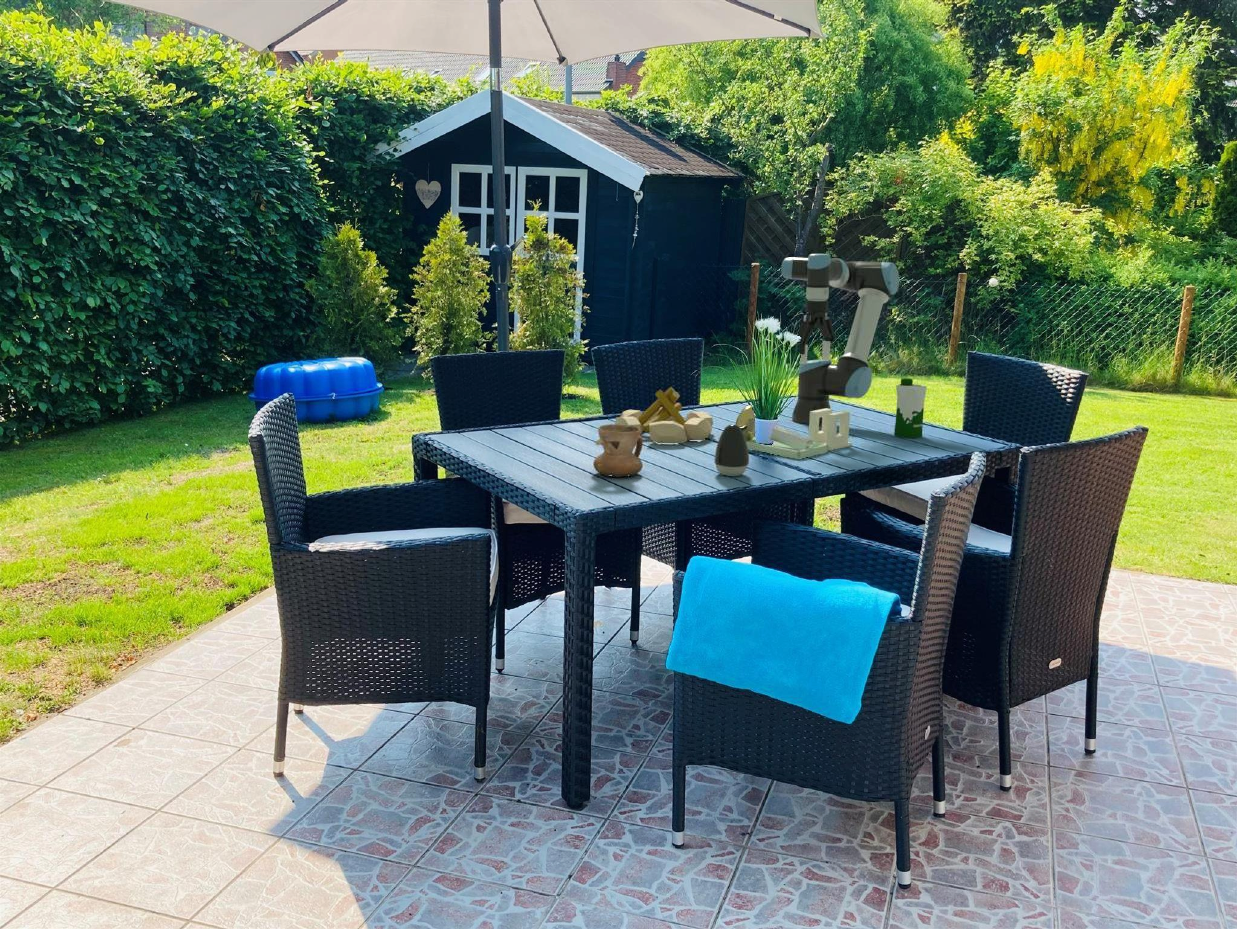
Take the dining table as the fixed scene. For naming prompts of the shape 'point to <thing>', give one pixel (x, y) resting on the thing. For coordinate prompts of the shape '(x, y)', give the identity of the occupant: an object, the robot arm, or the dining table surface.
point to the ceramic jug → (619, 450)
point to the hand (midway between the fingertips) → (814, 361)
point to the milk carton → (909, 409)
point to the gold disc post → (777, 434)
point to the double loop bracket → (830, 428)
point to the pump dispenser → (732, 451)
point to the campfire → (668, 420)
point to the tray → (787, 449)
